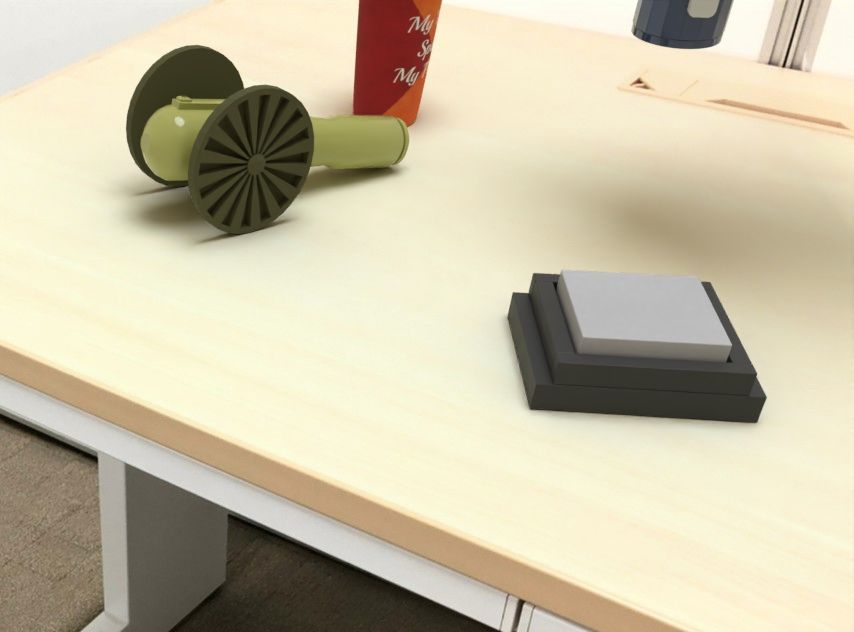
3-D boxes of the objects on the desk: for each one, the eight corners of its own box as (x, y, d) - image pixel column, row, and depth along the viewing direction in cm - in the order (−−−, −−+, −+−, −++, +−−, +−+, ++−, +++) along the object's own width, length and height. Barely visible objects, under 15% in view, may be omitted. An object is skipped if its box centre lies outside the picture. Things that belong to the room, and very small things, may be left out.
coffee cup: (420, 138, 113) (448, -38, 103) (331, 126, 115) (350, -47, 106) (435, 106, 119) (463, -64, 109) (350, 95, 121) (370, -72, 112)
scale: (710, 326, 87) (726, 281, 85) (757, 422, 78) (776, 375, 76) (507, 315, 89) (517, 271, 86) (529, 409, 80) (541, 361, 77)
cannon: (354, 140, 113) (369, 9, 106) (437, 188, 105) (460, 50, 98) (109, 195, 104) (108, 57, 97) (180, 253, 96) (184, 107, 89)
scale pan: (690, 299, 85) (698, 276, 83) (724, 369, 78) (732, 345, 77) (555, 292, 85) (561, 269, 84) (576, 360, 79) (583, 336, 77)
